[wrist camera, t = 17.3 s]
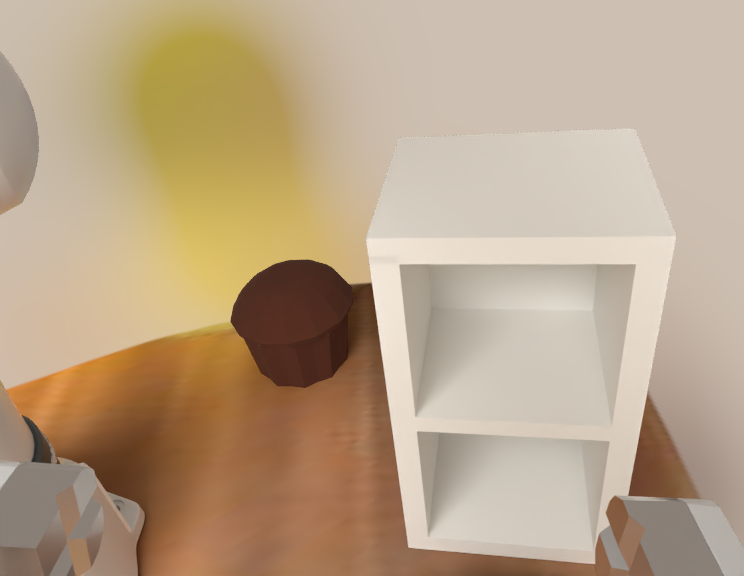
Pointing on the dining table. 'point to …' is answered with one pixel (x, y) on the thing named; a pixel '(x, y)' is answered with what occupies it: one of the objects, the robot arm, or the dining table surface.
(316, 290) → the muffin
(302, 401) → the dining table surface
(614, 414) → the tall white box
